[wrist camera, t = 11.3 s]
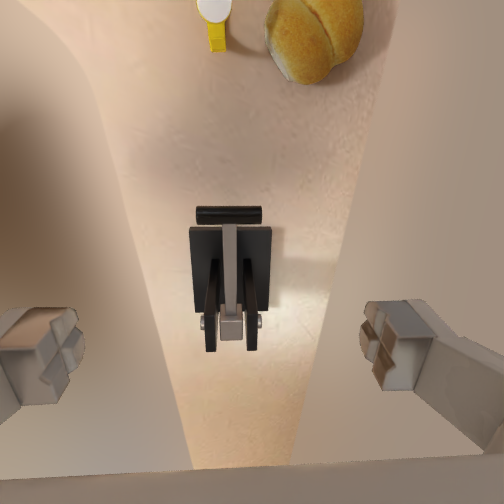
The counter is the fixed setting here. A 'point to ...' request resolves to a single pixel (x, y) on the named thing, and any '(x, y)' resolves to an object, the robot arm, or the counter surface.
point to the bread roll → (312, 36)
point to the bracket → (248, 278)
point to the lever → (229, 260)
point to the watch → (215, 21)
